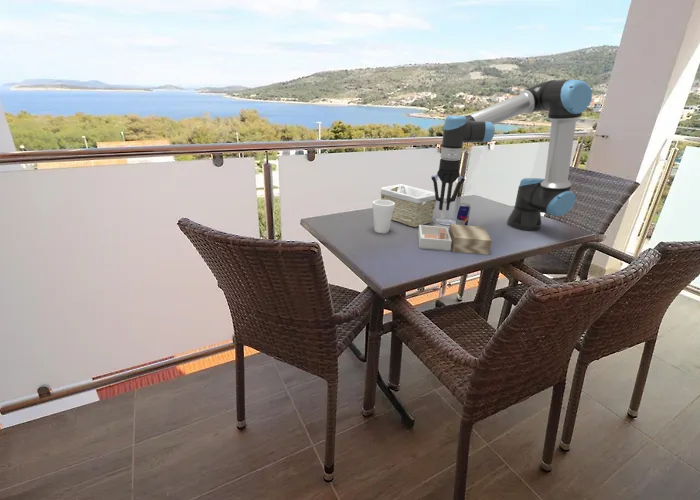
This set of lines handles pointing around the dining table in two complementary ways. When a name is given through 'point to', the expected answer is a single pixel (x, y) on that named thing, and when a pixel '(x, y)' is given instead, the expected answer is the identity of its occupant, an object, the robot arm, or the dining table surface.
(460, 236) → the tan wooden block
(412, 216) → the storage basket
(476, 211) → the dining table surface
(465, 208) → the energy drink
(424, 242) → the box
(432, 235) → the tile
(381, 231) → the foam cup
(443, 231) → the tile
